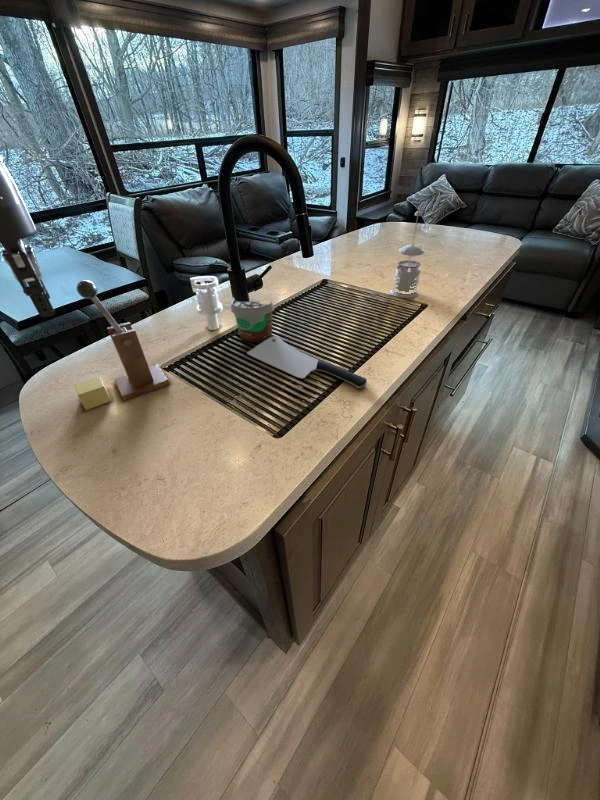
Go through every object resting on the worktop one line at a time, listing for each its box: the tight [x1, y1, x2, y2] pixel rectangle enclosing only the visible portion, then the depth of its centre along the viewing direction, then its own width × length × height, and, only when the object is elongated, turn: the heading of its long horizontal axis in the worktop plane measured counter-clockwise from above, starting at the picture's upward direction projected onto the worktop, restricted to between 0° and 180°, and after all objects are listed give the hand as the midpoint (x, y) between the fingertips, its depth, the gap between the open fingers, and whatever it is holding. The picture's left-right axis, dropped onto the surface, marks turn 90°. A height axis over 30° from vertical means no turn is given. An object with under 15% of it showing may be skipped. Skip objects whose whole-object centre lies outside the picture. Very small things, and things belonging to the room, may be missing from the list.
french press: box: [389, 210, 426, 299], centre depth 108 cm, size 10×12×25 cm
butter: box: [74, 375, 112, 411], centre depth 71 cm, size 5×5×4 cm
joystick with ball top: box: [76, 279, 127, 334], centre depth 65 cm, size 14×3×3 cm
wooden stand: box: [106, 321, 170, 401], centre depth 72 cm, size 10×8×14 cm
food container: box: [230, 297, 275, 343], centre depth 89 cm, size 12×6×10 cm, turn 71°
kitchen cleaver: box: [246, 335, 368, 389], centre depth 80 cm, size 31×2×10 cm
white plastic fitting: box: [189, 275, 224, 331], centre depth 93 cm, size 7×7×15 cm
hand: (46, 307), depth 59 cm, fingers open, 8 cm apart
